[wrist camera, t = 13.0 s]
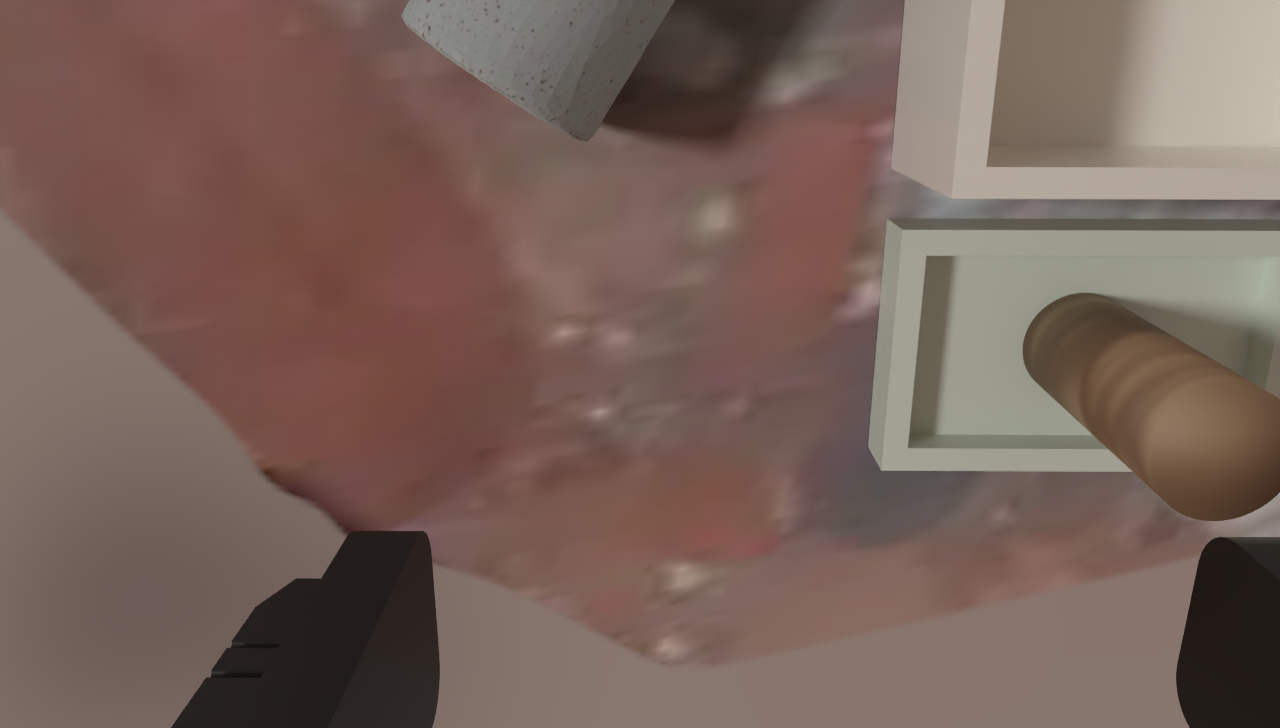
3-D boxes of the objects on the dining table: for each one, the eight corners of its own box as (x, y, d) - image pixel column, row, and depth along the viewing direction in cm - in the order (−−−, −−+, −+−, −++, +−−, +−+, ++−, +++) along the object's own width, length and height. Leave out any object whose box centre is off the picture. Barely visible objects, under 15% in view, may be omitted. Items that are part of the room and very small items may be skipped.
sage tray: (887, 218, 39) (902, 229, 36) (1284, 219, 39) (1325, 231, 36) (868, 446, 42) (881, 470, 40) (1235, 448, 42) (1271, 472, 40)
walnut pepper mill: (1029, 293, 39) (1165, 387, 28) (1139, 292, 39) (1316, 387, 28) (1016, 395, 40) (1141, 520, 30) (1123, 394, 40) (1285, 521, 30)
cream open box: (919, -171, 34) (995, -232, 27) (1367, -171, 34) (1571, -232, 27) (891, 168, 38) (951, 198, 31) (1294, 169, 38) (1456, 200, 31)
